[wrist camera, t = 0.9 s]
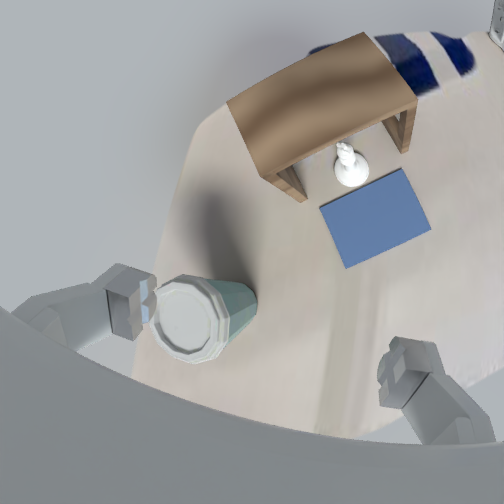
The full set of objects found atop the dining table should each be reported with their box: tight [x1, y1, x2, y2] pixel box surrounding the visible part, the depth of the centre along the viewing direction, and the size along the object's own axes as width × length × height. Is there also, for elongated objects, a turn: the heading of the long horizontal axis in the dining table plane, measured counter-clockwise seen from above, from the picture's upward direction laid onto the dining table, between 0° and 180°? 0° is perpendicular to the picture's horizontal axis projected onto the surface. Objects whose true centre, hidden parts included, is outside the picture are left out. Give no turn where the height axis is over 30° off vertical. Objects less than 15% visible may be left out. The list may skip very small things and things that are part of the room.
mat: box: [320, 169, 431, 268], centre depth 39 cm, size 9×13×1 cm
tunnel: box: [226, 32, 418, 203], centre depth 35 cm, size 19×17×15 cm
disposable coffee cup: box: [149, 274, 257, 364], centre depth 40 cm, size 11×11×15 cm
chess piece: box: [334, 142, 369, 187], centre depth 36 cm, size 5×5×10 cm
